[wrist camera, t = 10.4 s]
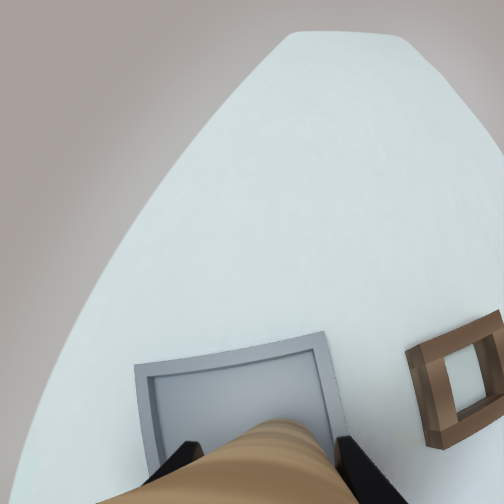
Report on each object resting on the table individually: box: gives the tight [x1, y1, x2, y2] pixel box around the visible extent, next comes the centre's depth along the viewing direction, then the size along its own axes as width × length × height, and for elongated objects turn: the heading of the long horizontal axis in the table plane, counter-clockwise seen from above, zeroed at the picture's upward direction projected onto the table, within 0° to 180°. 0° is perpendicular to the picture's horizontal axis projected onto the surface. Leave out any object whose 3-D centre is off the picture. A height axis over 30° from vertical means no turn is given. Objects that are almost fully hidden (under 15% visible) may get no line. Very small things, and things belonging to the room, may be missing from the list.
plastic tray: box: [134, 331, 348, 477], centre depth 18 cm, size 14×14×2 cm
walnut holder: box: [405, 309, 504, 450], centre depth 17 cm, size 8×8×3 cm
